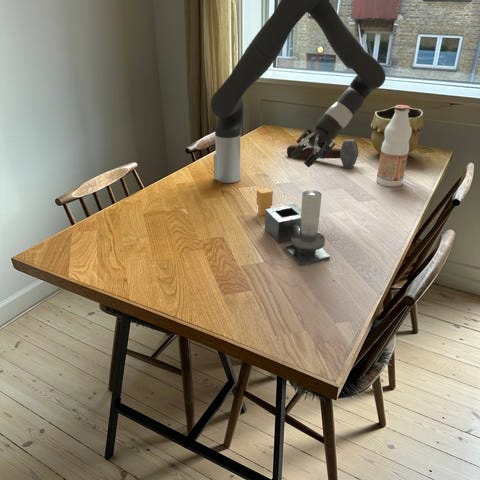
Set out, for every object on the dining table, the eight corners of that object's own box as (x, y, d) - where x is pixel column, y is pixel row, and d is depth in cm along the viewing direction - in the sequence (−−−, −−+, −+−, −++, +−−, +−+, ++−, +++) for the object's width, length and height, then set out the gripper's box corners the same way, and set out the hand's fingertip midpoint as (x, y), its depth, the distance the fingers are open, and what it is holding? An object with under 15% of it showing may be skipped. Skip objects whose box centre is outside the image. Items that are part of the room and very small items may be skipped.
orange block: (256, 212, 143) (256, 189, 139) (267, 210, 144) (268, 187, 140) (260, 216, 140) (261, 193, 136) (271, 214, 141) (272, 191, 137)
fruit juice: (380, 187, 160) (393, 109, 146) (372, 177, 169) (384, 103, 155) (405, 187, 161) (421, 109, 147) (397, 177, 169) (411, 103, 155)
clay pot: (388, 168, 178) (397, 118, 168) (356, 152, 194) (362, 106, 185) (427, 161, 185) (438, 113, 175) (393, 146, 202) (401, 102, 192)
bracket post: (264, 230, 132) (266, 173, 123) (292, 224, 135) (296, 169, 126) (299, 266, 115) (304, 204, 106) (330, 258, 118) (338, 197, 109)
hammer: (286, 165, 191) (354, 169, 175) (285, 140, 186) (354, 141, 171) (291, 162, 194) (358, 166, 179) (289, 137, 189) (358, 138, 174)
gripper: (315, 108, 140) (281, 147, 141) (340, 118, 128) (303, 161, 130) (328, 122, 144) (295, 161, 146) (353, 134, 132) (318, 175, 134)
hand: (299, 161), depth 138 cm, fingers open, 8 cm apart
